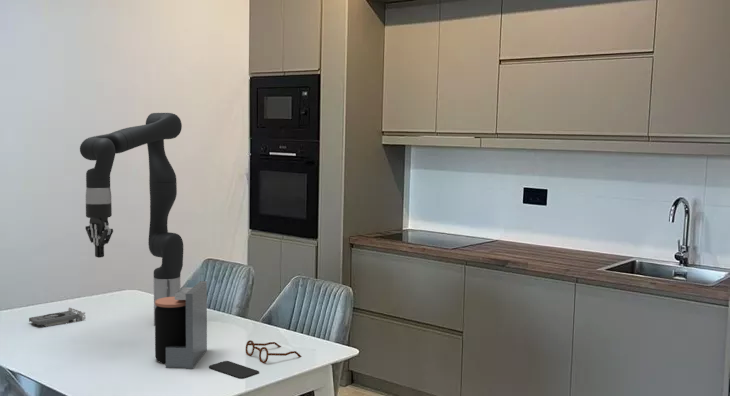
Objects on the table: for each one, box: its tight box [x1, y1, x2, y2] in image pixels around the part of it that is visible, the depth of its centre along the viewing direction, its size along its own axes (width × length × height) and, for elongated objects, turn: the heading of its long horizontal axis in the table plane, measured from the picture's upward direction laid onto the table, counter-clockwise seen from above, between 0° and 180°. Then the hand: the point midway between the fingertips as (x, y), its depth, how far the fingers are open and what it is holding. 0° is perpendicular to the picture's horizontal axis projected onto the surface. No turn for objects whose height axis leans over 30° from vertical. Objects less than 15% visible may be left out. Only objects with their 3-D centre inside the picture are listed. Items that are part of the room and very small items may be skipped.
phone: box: [208, 360, 260, 380], centre depth 198 cm, size 7×1×15 cm
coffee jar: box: [154, 297, 186, 365], centre depth 206 cm, size 11×11×18 cm
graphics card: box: [28, 307, 86, 327], centre depth 247 cm, size 17×4×12 cm
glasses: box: [245, 339, 302, 364], centre depth 212 cm, size 13×13×5 cm
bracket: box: [165, 280, 208, 370], centre depth 206 cm, size 8×18×22 cm, turn 0°
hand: (99, 256), depth 215 cm, fingers closed
